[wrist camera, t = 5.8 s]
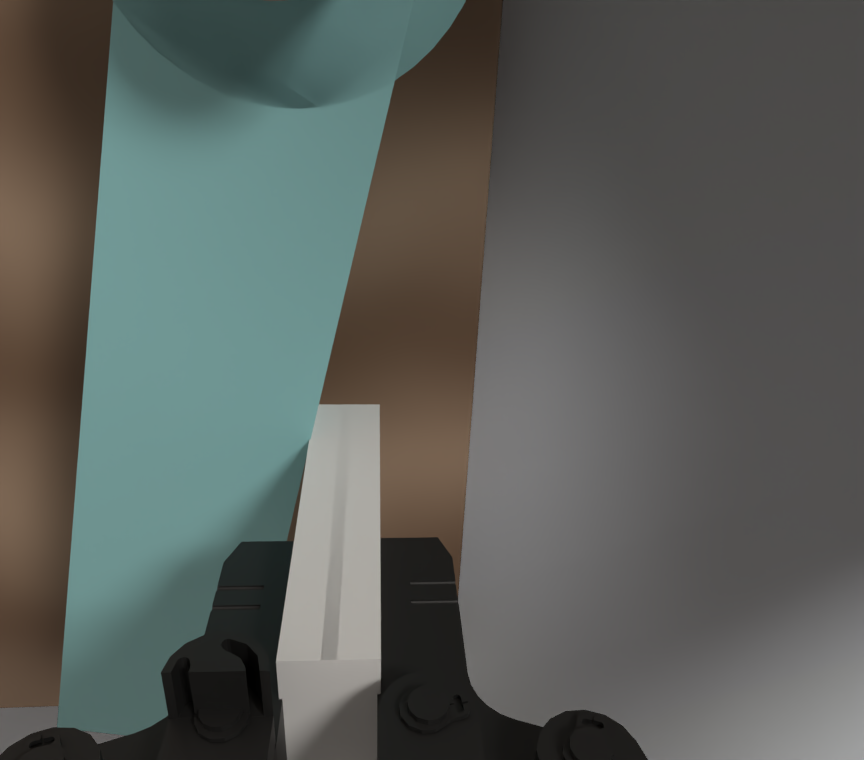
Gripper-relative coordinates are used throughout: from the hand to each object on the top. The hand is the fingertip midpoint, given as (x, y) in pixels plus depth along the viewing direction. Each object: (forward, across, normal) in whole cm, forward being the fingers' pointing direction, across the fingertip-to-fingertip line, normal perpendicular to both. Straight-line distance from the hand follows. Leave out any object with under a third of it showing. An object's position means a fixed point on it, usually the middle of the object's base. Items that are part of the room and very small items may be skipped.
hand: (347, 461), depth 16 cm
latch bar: (+1, -2, +3) cm, 4 cm away
